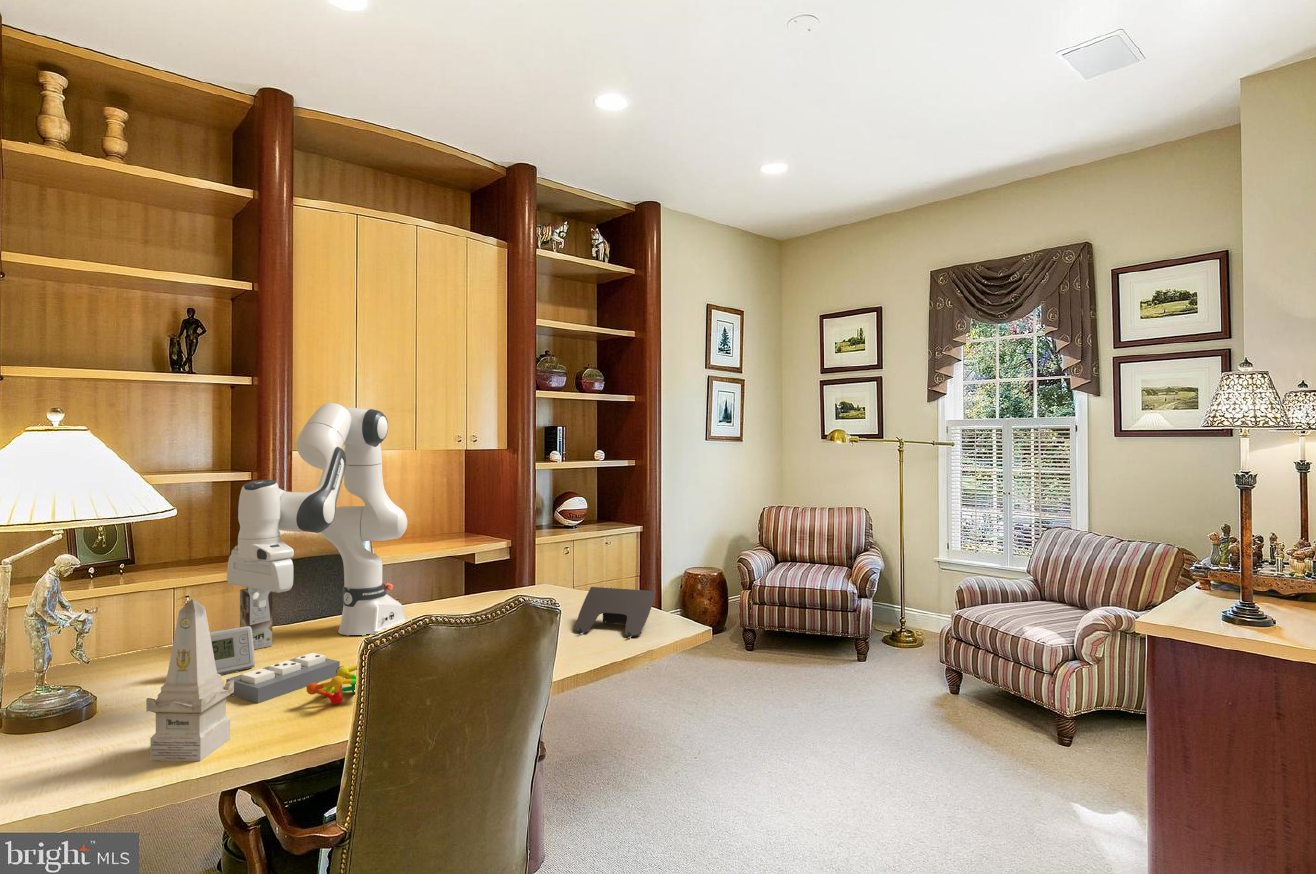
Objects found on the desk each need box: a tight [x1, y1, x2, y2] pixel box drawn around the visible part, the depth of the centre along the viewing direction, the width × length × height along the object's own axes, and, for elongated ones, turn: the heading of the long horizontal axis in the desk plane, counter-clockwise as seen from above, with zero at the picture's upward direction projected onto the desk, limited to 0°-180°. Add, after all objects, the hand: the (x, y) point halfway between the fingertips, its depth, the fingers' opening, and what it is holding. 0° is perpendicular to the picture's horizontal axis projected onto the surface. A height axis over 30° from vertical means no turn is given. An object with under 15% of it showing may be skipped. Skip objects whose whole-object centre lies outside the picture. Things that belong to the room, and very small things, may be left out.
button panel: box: [225, 657, 341, 704], centre depth 178 cm, size 22×12×4 cm, turn 153°
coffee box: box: [239, 588, 274, 650], centre depth 208 cm, size 9×6×16 cm
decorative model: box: [306, 664, 358, 706], centre depth 169 cm, size 13×9×15 cm
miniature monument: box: [145, 598, 234, 762], centre depth 141 cm, size 10×10×30 cm
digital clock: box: [210, 626, 256, 676], centre depth 185 cm, size 16×9×11 cm, turn 123°
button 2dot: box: [295, 652, 326, 667], centre depth 184 cm, size 5×5×3 cm
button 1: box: [241, 667, 275, 684], centre depth 172 cm, size 5×5×3 cm
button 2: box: [268, 659, 301, 675], centre depth 178 cm, size 5×5×3 cm
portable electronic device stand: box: [574, 586, 657, 639], centre depth 233 cm, size 23×23×9 cm
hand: (258, 606), depth 171 cm, fingers closed
